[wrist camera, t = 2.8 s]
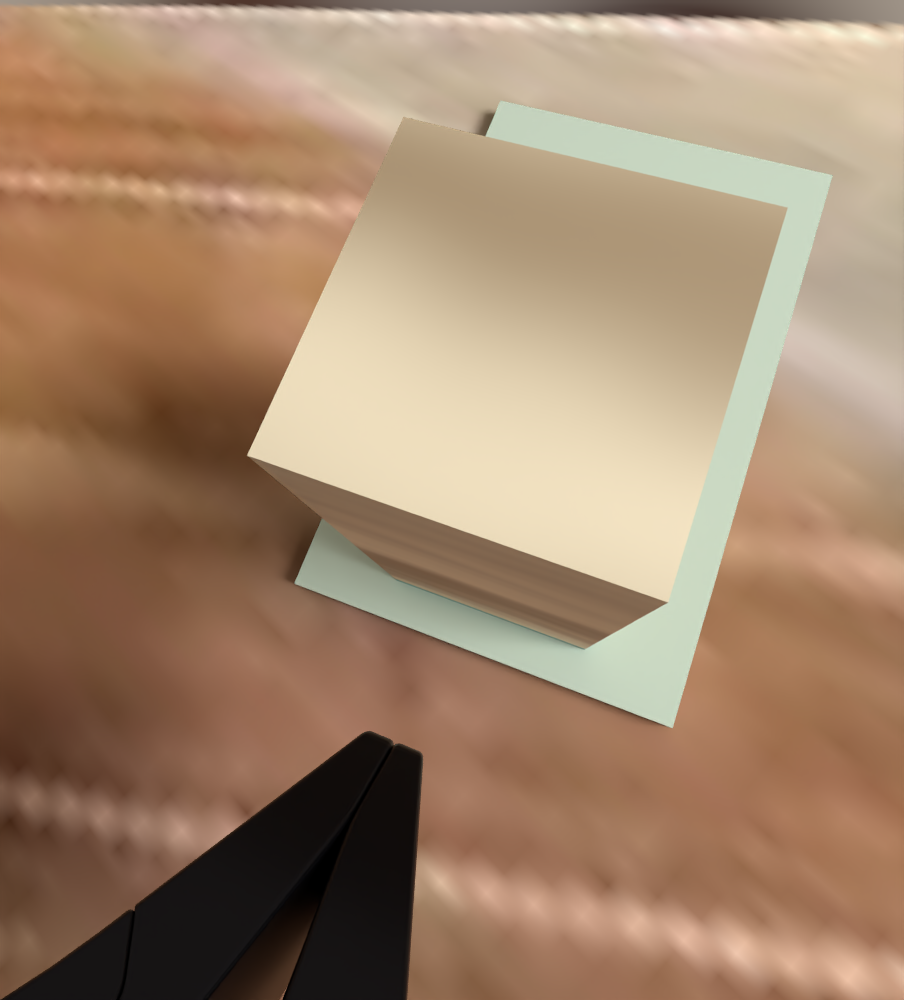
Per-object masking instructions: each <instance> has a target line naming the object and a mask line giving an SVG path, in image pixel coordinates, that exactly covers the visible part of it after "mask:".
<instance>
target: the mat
mask: <svg viewBox="0 0 904 1000" xmlns="http://www.w3.org/2000/svg"><path fill="white" fill-rule="evenodd" d="M486 137H490V138H495V139H499V140H503V141H507V142H512V143H516V144H520V145H524V146H529V147H533V148H537V149H541V150H546V151H550V152H554V153H558V154H563V155H567V156H571V157H575V158H580V159H584V160H588V161H592V162H597V163H601V164H605V165H609V166H613V167H618V168H622V169H626V170H630V171H635V172H639V173H643V174H647V175H652V176H656V177H660V178H664V179H669V180H673V181H677V182H681V183H686V184H690V185H694V186H698V187H703V188H707V189H711V190H715V191H720V192H724V193H728V194H732V195H737V196H741V197H745V198H749V199H754V200H758V201H762V202H766V203H771V204H775V205H779V206H783V207H788V209H787V212H786V215H785V219H784V222H783V225H782V228H781V232H780V235H779V238H778V242H777V245H776V248H775V252H774V255H773V258H772V262H771V265H770V268H769V271H768V275H767V278H766V281H765V285H764V288H763V291H762V295H761V298H760V301H759V304H758V308H757V311H756V314H755V318H754V321H753V324H752V328H751V331H750V334H749V337H748V341H747V344H746V347H745V351H744V354H743V357H742V361H741V364H740V367H739V370H738V374H737V377H736V380H735V384H734V387H733V390H732V394H731V397H730V400H729V403H728V407H727V410H726V413H725V417H724V420H723V423H722V427H721V430H720V433H719V436H718V440H717V443H716V446H715V450H714V453H713V456H712V460H711V463H710V466H709V470H708V473H707V476H706V479H705V483H704V486H703V489H702V493H701V496H700V499H699V503H698V506H697V509H696V512H695V516H694V519H693V522H692V526H691V529H690V532H689V536H688V539H687V542H686V545H685V549H684V552H683V555H682V559H681V562H680V565H679V569H678V572H677V575H676V578H675V582H674V585H673V588H672V592H671V595H670V598H669V602H668V603H667V604H665V605H663V606H661V607H659V608H658V609H656V610H654V611H652V612H650V613H649V614H647V615H645V616H643V617H642V618H640V619H638V620H636V621H634V622H633V623H631V624H629V625H627V626H626V627H624V628H622V629H620V630H618V631H617V632H615V633H613V634H611V635H610V636H608V637H606V638H604V639H602V640H601V641H599V642H597V643H595V644H594V645H592V646H590V647H588V648H586V649H585V650H584V649H581V648H578V647H575V646H573V645H570V644H567V643H565V642H562V641H559V640H557V639H554V638H551V637H548V636H546V635H543V634H540V633H538V632H535V631H532V630H530V629H527V628H524V627H521V626H519V625H516V624H513V623H511V622H508V621H505V620H503V619H500V618H497V617H494V616H492V615H489V614H486V613H484V612H481V611H478V610H475V609H473V608H470V607H467V606H465V605H462V604H459V603H457V602H454V601H451V600H448V599H446V598H443V597H440V596H438V595H435V594H432V593H430V592H427V591H424V590H421V589H419V588H416V587H413V586H411V585H408V584H405V583H403V582H400V581H397V580H396V579H395V578H393V577H392V576H391V575H390V574H389V573H387V572H386V571H385V570H384V569H383V568H381V567H380V566H379V565H378V564H377V563H375V562H374V561H373V560H372V559H371V558H369V557H368V556H367V555H366V554H365V553H363V552H362V551H361V550H360V549H359V548H357V547H356V546H355V545H354V544H353V543H351V542H350V541H349V540H348V539H347V538H345V537H344V536H343V535H342V534H341V533H339V532H338V531H337V530H336V529H335V528H333V527H332V526H331V525H330V524H329V523H327V522H326V521H325V520H324V519H323V518H322V520H321V522H320V524H319V527H318V529H317V531H316V534H315V536H314V538H313V541H312V543H311V545H310V548H309V550H308V552H307V555H306V557H305V559H304V562H303V564H302V566H301V569H300V571H299V573H298V576H297V578H296V580H295V583H294V584H297V585H299V586H301V587H304V588H306V589H309V590H312V591H314V592H317V593H320V594H322V595H325V596H327V597H330V598H333V599H335V600H338V601H340V602H343V603H346V604H348V605H351V606H353V607H356V608H359V609H361V610H364V611H367V612H369V613H372V614H374V615H377V616H380V617H382V618H385V619H387V620H390V621H393V622H395V623H398V624H401V625H403V626H406V627H408V628H411V629H414V630H416V631H419V632H421V633H424V634H427V635H429V636H432V637H435V638H437V639H440V640H442V641H445V642H448V643H450V644H453V645H455V646H458V647H461V648H463V649H466V650H469V651H471V652H474V653H476V654H479V655H482V656H484V657H487V658H489V659H492V660H495V661H497V662H500V663H503V664H505V665H508V666H510V667H513V668H516V669H518V670H521V671H523V672H526V673H529V674H531V675H534V676H537V677H539V678H542V679H544V680H547V681H550V682H552V683H555V684H557V685H560V686H563V687H565V688H568V689H570V690H573V691H576V692H578V693H581V694H584V695H586V696H589V697H591V698H594V699H597V700H599V701H602V702H604V703H607V704H610V705H612V706H615V707H618V708H620V709H623V710H625V711H628V712H631V713H633V714H636V715H638V716H641V717H644V718H646V719H649V720H652V721H654V722H657V723H659V724H662V725H665V726H667V727H670V728H673V725H674V721H675V718H676V714H677V711H678V707H679V704H680V701H681V697H682V694H683V690H684V687H685V683H686V680H687V676H688V673H689V669H690V666H691V663H692V659H693V656H694V652H695V649H696V645H697V642H698V638H699V635H700V631H701V628H702V625H703V621H704V618H705V614H706V611H707V607H708V604H709V600H710V597H711V593H712V590H713V587H714V583H715V580H716V576H717V573H718V569H719V566H720V562H721V559H722V556H723V552H724V549H725V545H726V542H727V538H728V535H729V531H730V528H731V524H732V521H733V518H734V514H735V511H736V507H737V504H738V500H739V497H740V493H741V490H742V486H743V483H744V480H745V476H746V473H747V469H748V466H749V462H750V459H751V455H752V452H753V448H754V445H755V442H756V438H757V435H758V431H759V428H760V424H761V421H762V417H763V414H764V410H765V407H766V404H767V400H768V397H769V393H770V390H771V386H772V383H773V379H774V376H775V373H776V369H777V366H778V362H779V359H780V355H781V352H782V348H783V345H784V341H785V338H786V335H787V331H788V328H789V324H790V321H791V317H792V314H793V310H794V307H795V303H796V300H797V297H798V293H799V290H800V286H801V283H802V279H803V276H804V272H805V269H806V265H807V262H808V259H809V255H810V252H811V248H812V245H813V241H814V238H815V234H816V231H817V228H818V224H819V221H820V217H821V214H822V210H823V207H824V203H825V200H826V196H827V193H828V190H829V186H830V183H831V179H832V176H833V175H830V174H825V173H821V172H816V171H812V170H807V169H803V168H798V167H794V166H790V165H785V164H781V163H776V162H772V161H767V160H763V159H758V158H754V157H749V156H745V155H741V154H736V153H732V152H727V151H723V150H718V149H714V148H709V147H705V146H700V145H696V144H692V143H687V142H683V141H678V140H674V139H669V138H665V137H660V136H656V135H652V134H647V133H643V132H638V131H634V130H629V129H625V128H620V127H616V126H611V125H607V124H603V123H598V122H594V121H589V120H585V119H580V118H576V117H571V116H567V115H562V114H558V113H554V112H549V111H545V110H540V109H536V108H531V107H527V106H522V105H518V104H513V103H509V102H505V101H500V103H499V106H498V108H497V110H496V113H495V115H494V117H493V120H492V122H491V124H490V127H489V129H488V131H487V134H486Z"/></svg>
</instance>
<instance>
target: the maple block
mask: <svg viewBox="0 0 904 1000" xmlns="http://www.w3.org/2000/svg"><path fill="white" fill-rule="evenodd" d="M787 209H788V207H783V206H779V205H775V204H771V203H766V202H762V201H758V200H754V199H749V198H745V197H741V196H737V195H732V194H728V193H724V192H720V191H715V190H711V189H707V188H703V187H698V186H694V185H690V184H686V183H681V182H677V181H673V180H669V179H664V178H660V177H656V176H652V175H647V174H643V173H639V172H635V171H630V170H626V169H622V168H618V167H613V166H609V165H605V164H601V163H597V162H592V161H588V160H584V159H580V158H575V157H571V156H567V155H563V154H558V153H554V152H550V151H546V150H541V149H537V148H533V147H529V146H524V145H520V144H516V143H512V142H507V141H503V140H499V139H495V138H490V137H486V136H482V135H478V134H473V133H469V132H465V131H461V130H456V129H452V128H448V127H444V126H439V125H435V124H431V123H427V122H422V121H418V120H414V119H410V118H405V117H403V119H402V122H401V124H400V126H399V128H398V130H397V132H396V135H395V137H394V139H393V141H392V143H391V145H390V148H389V150H388V152H387V154H386V156H385V158H384V161H383V163H382V165H381V167H380V169H379V171H378V173H377V176H376V178H375V180H374V182H373V184H372V186H371V189H370V191H369V193H368V195H367V197H366V199H365V202H364V204H363V206H362V208H361V210H360V212H359V215H358V217H357V219H356V221H355V223H354V225H353V228H352V230H351V232H350V234H349V236H348V238H347V241H346V243H345V245H344V247H343V249H342V251H341V254H340V256H339V258H338V260H337V262H336V264H335V266H334V269H333V271H332V273H331V275H330V277H329V279H328V282H327V284H326V286H325V288H324V290H323V292H322V295H321V297H320V299H319V301H318V303H317V305H316V308H315V310H314V312H313V314H312V316H311V318H310V321H309V323H308V325H307V327H306V329H305V331H304V334H303V336H302V338H301V340H300V342H299V344H298V347H297V349H296V351H295V353H294V355H293V357H292V359H291V362H290V364H289V366H288V368H287V370H286V372H285V375H284V377H283V379H282V381H281V383H280V385H279V388H278V390H277V392H276V394H275V396H274V398H273V401H272V403H271V405H270V407H269V409H268V411H267V414H266V416H265V418H264V420H263V422H262V424H261V427H260V429H259V431H258V433H257V435H256V437H255V440H254V442H253V444H252V446H251V448H250V450H249V452H248V455H247V456H248V457H249V458H251V459H252V460H253V461H254V462H255V463H257V464H258V465H259V466H260V467H261V468H263V469H264V470H265V471H266V472H267V473H269V474H270V475H271V476H272V477H273V478H275V479H276V480H277V481H278V482H279V483H281V484H282V485H283V486H284V487H285V488H287V489H288V490H289V491H290V492H291V493H293V494H294V495H295V496H296V497H297V498H299V499H300V500H301V501H302V502H303V503H305V504H306V505H307V506H308V507H309V508H311V509H312V510H313V511H314V512H315V513H317V514H318V515H319V516H320V517H321V518H323V519H324V520H325V521H326V522H327V523H329V524H330V525H331V526H332V527H333V528H335V529H336V530H337V531H338V532H339V533H341V534H342V535H343V536H344V537H345V538H347V539H348V540H349V541H350V542H351V543H353V544H354V545H355V546H356V547H357V548H359V549H360V550H361V551H362V552H363V553H365V554H366V555H367V556H368V557H369V558H371V559H372V560H373V561H374V562H375V563H377V564H378V565H379V566H380V567H381V568H383V569H384V570H385V571H386V572H387V573H389V574H390V575H391V576H392V577H393V578H395V579H396V580H397V581H400V582H403V583H405V584H408V585H411V586H413V587H416V588H419V589H421V590H424V591H427V592H430V593H432V594H435V595H438V596H440V597H443V598H446V599H448V600H451V601H454V602H457V603H459V604H462V605H465V606H467V607H470V608H473V609H475V610H478V611H481V612H484V613H486V614H489V615H492V616H494V617H497V618H500V619H503V620H505V621H508V622H511V623H513V624H516V625H519V626H521V627H524V628H527V629H530V630H532V631H535V632H538V633H540V634H543V635H546V636H548V637H551V638H554V639H557V640H559V641H562V642H565V643H567V644H570V645H573V646H575V647H578V648H581V649H584V650H585V649H586V648H588V647H590V646H592V645H594V644H595V643H597V642H599V641H601V640H602V639H604V638H606V637H608V636H610V635H611V634H613V633H615V632H617V631H618V630H620V629H622V628H624V627H626V626H627V625H629V624H631V623H633V622H634V621H636V620H638V619H640V618H642V617H643V616H645V615H647V614H649V613H650V612H652V611H654V610H656V609H658V608H659V607H661V606H663V605H665V604H667V603H668V602H669V598H670V595H671V592H672V588H673V585H674V582H675V578H676V575H677V572H678V569H679V565H680V562H681V559H682V555H683V552H684V549H685V545H686V542H687V539H688V536H689V532H690V529H691V526H692V522H693V519H694V516H695V512H696V509H697V506H698V503H699V499H700V496H701V493H702V489H703V486H704V483H705V479H706V476H707V473H708V470H709V466H710V463H711V460H712V456H713V453H714V450H715V446H716V443H717V440H718V436H719V433H720V430H721V427H722V423H723V420H724V417H725V413H726V410H727V407H728V403H729V400H730V397H731V394H732V390H733V387H734V384H735V380H736V377H737V374H738V370H739V367H740V364H741V361H742V357H743V354H744V351H745V347H746V344H747V341H748V337H749V334H750V331H751V328H752V324H753V321H754V318H755V314H756V311H757V308H758V304H759V301H760V298H761V295H762V291H763V288H764V285H765V281H766V278H767V275H768V271H769V268H770V265H771V262H772V258H773V255H774V252H775V248H776V245H777V242H778V238H779V235H780V232H781V228H782V225H783V222H784V219H785V215H786V212H787Z"/></svg>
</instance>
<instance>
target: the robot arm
mask: <svg viewBox="0 0 904 1000" xmlns="http://www.w3.org/2000/svg"><path fill="white" fill-rule="evenodd" d="M422 769H423V755H422V753H421V752H419V751H417V750H415V749H412V748H410V747H408V746H405V745H403V744H395V745H394V743H393V741H392V740H391V739H388V738H386V737H384V736H381V735H379V734H377V733H374V732H372V731H367V732H364V733H362V734H361V735H359V736H358V737H357V738H355V739H354V740H353V741H351V742H350V743H349V744H347V745H346V746H345V747H343V748H342V749H341V750H340V751H338V752H337V753H336V754H334V755H333V756H332V757H330V758H329V759H328V760H326V761H325V762H324V763H322V764H321V765H320V766H318V767H317V768H316V769H314V770H313V771H312V772H310V773H309V774H308V775H306V776H305V777H304V778H303V779H301V780H300V781H299V782H297V783H296V784H295V785H293V786H292V787H291V788H289V789H288V790H287V791H285V792H284V793H283V794H281V795H280V796H279V797H277V798H276V799H275V800H273V801H272V802H271V803H270V804H268V805H267V806H266V807H264V808H263V809H262V810H260V811H259V812H258V813H256V814H255V815H254V816H252V817H251V818H250V819H248V820H247V821H246V822H244V823H243V824H242V825H240V826H239V827H238V828H236V829H235V830H234V831H233V832H231V833H230V834H229V835H227V836H226V837H225V838H223V839H222V840H221V841H219V842H218V843H217V844H215V845H214V846H213V847H211V848H210V849H209V850H207V851H206V852H205V853H203V854H202V855H201V856H200V857H198V858H197V859H196V860H194V861H193V862H192V863H190V864H189V865H188V866H186V867H185V868H184V869H182V870H181V871H180V872H178V873H177V874H176V875H174V876H173V877H172V878H170V879H169V880H168V881H166V882H165V883H164V884H163V885H161V886H160V887H159V888H157V889H156V890H155V891H153V892H152V893H151V894H149V895H148V896H147V897H145V898H144V899H143V900H141V901H140V902H139V903H137V905H136V906H135V911H133V910H128V911H126V912H125V913H124V914H122V915H121V916H120V917H119V918H117V919H116V920H115V921H113V922H112V923H111V924H109V925H108V926H107V927H105V928H104V929H103V930H101V931H100V932H99V933H97V934H96V935H95V936H93V937H92V938H90V939H89V940H88V941H86V942H85V943H83V944H82V945H81V946H79V947H78V948H77V949H75V950H74V951H72V952H71V953H70V954H68V955H67V956H65V957H64V958H63V959H61V960H60V961H58V962H57V963H56V964H54V965H53V966H51V967H50V968H49V969H47V970H45V971H44V972H42V973H41V974H39V975H38V976H36V977H35V978H33V979H32V980H30V981H29V982H27V983H26V984H24V985H22V986H21V987H19V988H18V989H16V990H15V991H13V992H12V993H10V994H9V995H7V996H6V997H4V998H3V999H1V1000H279V999H280V998H281V996H282V994H283V992H284V991H285V989H286V987H287V989H286V992H285V994H284V997H283V1000H407V993H408V978H409V963H410V948H411V933H412V918H413V903H414V888H415V874H416V859H417V844H418V829H419V814H420V799H421V784H422ZM287 985H288V986H287Z"/></svg>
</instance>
